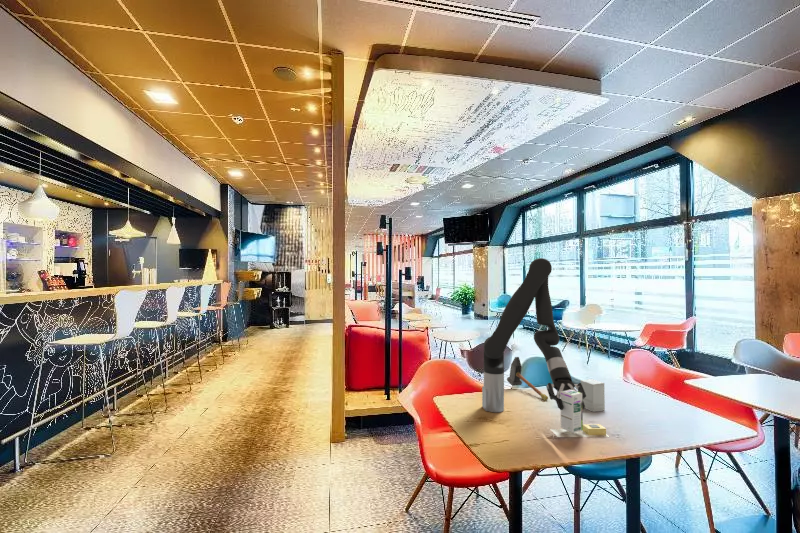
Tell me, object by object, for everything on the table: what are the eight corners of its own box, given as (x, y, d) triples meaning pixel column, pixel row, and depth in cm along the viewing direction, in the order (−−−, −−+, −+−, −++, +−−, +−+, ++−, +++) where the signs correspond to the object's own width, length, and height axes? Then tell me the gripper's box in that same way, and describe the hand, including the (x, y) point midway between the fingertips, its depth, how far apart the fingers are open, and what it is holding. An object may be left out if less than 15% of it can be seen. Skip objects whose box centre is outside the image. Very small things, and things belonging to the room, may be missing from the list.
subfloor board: (562, 445, 134) (562, 441, 134) (545, 428, 148) (545, 425, 148) (615, 444, 135) (615, 440, 135) (594, 428, 149) (594, 425, 149)
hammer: (543, 382, 179) (510, 355, 208) (538, 411, 182) (506, 381, 211) (553, 381, 181) (519, 355, 209) (548, 410, 184) (515, 380, 212)
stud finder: (588, 435, 140) (588, 428, 140) (582, 430, 144) (582, 423, 144) (606, 434, 140) (606, 428, 140) (600, 430, 144) (600, 423, 144)
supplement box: (605, 410, 169) (605, 382, 169) (593, 412, 167) (592, 384, 167) (592, 404, 176) (592, 378, 176) (580, 406, 174) (580, 379, 174)
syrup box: (573, 433, 138) (573, 395, 138) (559, 427, 143) (560, 390, 143) (583, 430, 140) (583, 392, 141) (569, 424, 146) (569, 388, 146)
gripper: (544, 366, 150) (557, 404, 138) (578, 366, 150) (594, 404, 139) (539, 375, 155) (551, 413, 143) (572, 375, 156) (586, 413, 144)
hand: (572, 409), depth 141 cm, fingers closed on syrup box, 7 cm apart
